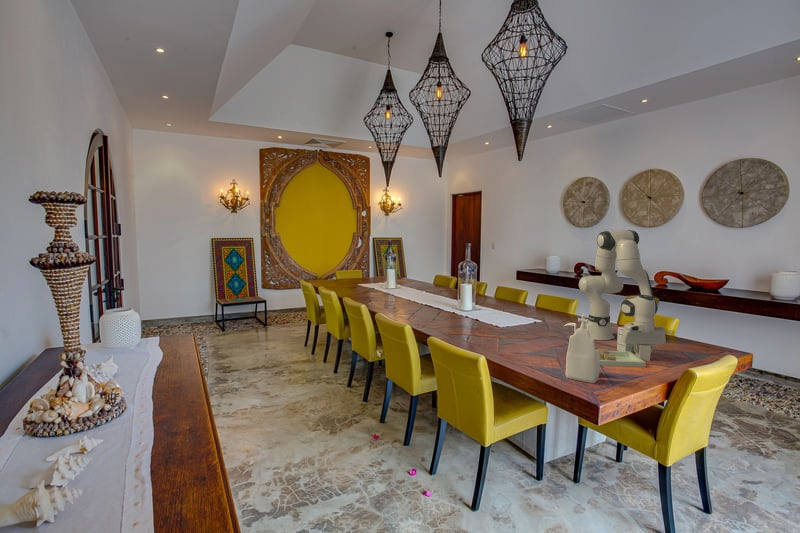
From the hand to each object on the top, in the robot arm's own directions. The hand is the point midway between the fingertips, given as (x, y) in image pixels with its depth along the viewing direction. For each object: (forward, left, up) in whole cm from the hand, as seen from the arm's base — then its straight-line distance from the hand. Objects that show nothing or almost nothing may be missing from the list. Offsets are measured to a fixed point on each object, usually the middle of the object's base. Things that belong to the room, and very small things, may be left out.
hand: (642, 352), depth 208 cm
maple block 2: (+8, -24, -2) cm, 25 cm away
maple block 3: (+13, -21, -2) cm, 25 cm away
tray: (+8, -17, -4) cm, 19 cm away
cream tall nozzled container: (+29, -41, -4) cm, 50 cm away
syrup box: (-9, -5, -4) cm, 11 cm away
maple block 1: (+4, -21, -2) cm, 21 cm away
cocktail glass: (-48, +20, -4) cm, 52 cm away
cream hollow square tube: (0, 0, -4) cm, 4 cm away
